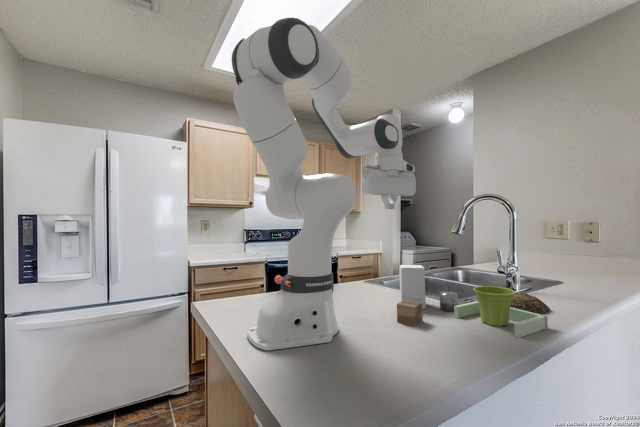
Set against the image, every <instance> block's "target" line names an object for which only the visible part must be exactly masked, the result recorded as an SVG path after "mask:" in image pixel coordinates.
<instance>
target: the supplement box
mask: <svg viewBox="0 0 640 427" xmlns="http://www.w3.org/2000/svg"><path fill="white" fill-rule="evenodd" d="M425 270H426V269H425V267H424V266H423V265H422V264H400V265H399V272H398V273H399V303H400V302H402V301H404V300H408V301H414V302H419V303H422V309H423V310H425V309H427V307H426V305H427V304H426V303H427V302H426V301H427V300H426V271H425Z"/></svg>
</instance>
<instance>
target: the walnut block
mask: <svg viewBox="0 0 640 427" xmlns="http://www.w3.org/2000/svg"><path fill="white" fill-rule="evenodd" d="M423 310H424V309H422V303H419V302H414V301H408V300H404V301H402V302H400V301H399V302H398V303H396V322H397V323H399V324H403V325H407V326H412V327H416V326H418V325H419V324H421V323H423V322H424V319H423V318H424V316H423V315H424V314H423V313H424V312H423Z"/></svg>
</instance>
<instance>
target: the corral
mask: <svg viewBox="0 0 640 427" xmlns="http://www.w3.org/2000/svg"><path fill="white" fill-rule="evenodd" d="M475 314H480V309H479V304H478V300H476V301H472V302H468V303H462V304H458V305H457V306H454V312H453V317H454V318H456V319H460V318H464V317H467V316H472V315H475ZM509 320H511V321H514V323H513V329H514V330H513V331H514V337H516V338H519V337H521V338H523V336H524V337H526V335H527V336H529V334H530V335H532V333H533V334H535V333H538V332H541V331H543V330H542V329H544V330H546V329H545V328H547V329H548V328H549V327H548V324H549V323H548V315H544V314H536V313H532V312H528V311H524V310H520V309H515V308H511V307H510V314H509ZM540 330H541V331H540ZM537 331H538V332H537ZM534 332H535V333H534Z"/></svg>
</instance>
